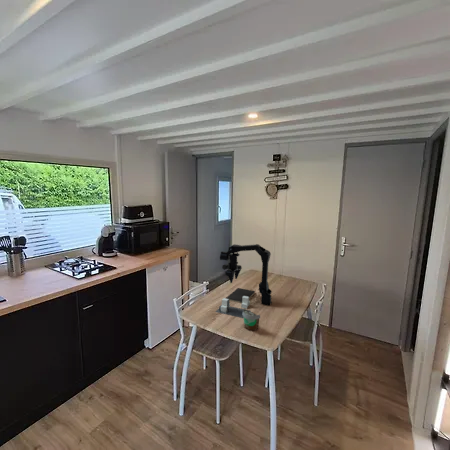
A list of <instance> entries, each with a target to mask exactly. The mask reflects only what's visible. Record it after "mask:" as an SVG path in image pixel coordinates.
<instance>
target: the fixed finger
mask: <svg viewBox="0 0 450 450" xmlns="http://www.w3.org/2000/svg"><path fill="white" fill-rule="evenodd" d="M221 305H222V306H221ZM221 305H220V306H221V311H222V312H227V307H230V306H231V303H230V300H229V299H226V297H223V298H222V299H221Z"/></svg>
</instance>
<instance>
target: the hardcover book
mask: <svg viewBox="0 0 450 450" xmlns="http://www.w3.org/2000/svg"><path fill="white" fill-rule="evenodd" d="M255 294H256V291H255V290H252V289H246V288H240V287H237V288H236V289H235V290H234V291H233V292H231V293H230V294H229V295H227V296H226V297H225V298H226V299H229V302H230V301H232V302H235V303H239V304H242V297H243V296H248V297H249V299H251V298H252V297H253V295H255Z"/></svg>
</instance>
